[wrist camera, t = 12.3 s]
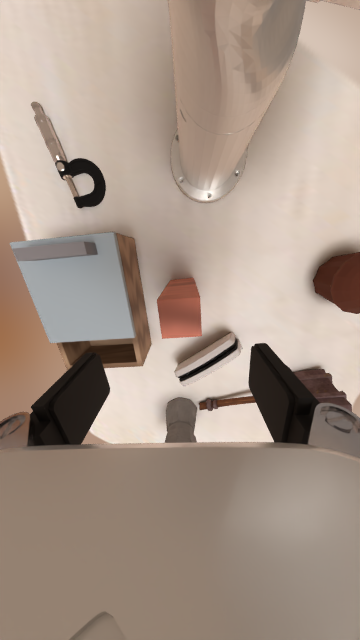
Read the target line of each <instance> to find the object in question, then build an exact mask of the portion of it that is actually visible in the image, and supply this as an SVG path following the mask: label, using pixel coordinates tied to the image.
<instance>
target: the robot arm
mask: <svg viewBox="0 0 360 640" xmlns="http://www.w3.org/2000/svg"><path fill="white" fill-rule="evenodd" d="M306 1H311V2H315V3H317V2H319V1H321V0H168V5H169V15H170V26H171V37H172V50H173V65H174V81H175V95H176V110H177V125H178V128H177V130H176V132H175V135H174V138H173V141H172V147H171V167H172V171H173V176H174V178H175V181H176V183H177V185H178V186H179V188H180V190H181V191H182V192H183V193H184V194H185V195H186V196H187V197H189V198H190V199H192V200H194V201H197V202H202V203H210V202H214V201H217V200H219V199H221V198H223V197H224V196H226V195H227V194H228V193H229V192H230V191H231V190H232V189H233V188H234V187H235V185H236V184H237V182H238V181H239V179H240V177H241V175H242V172H243V170H244V167H245V163H246V158H247V145H248V144H249V142H250V140H251V138H252V136H253V134H254V133H255V131H256V129H257V127H258V125H259V124H260V122H261V120H262V118H263V116H264V114H265V113H266V111H267V109H268V107H269V105H270V103H271V101H272V99H273V98H274V96H275V94H276V92H277V90H278V88H279V87H280V85H281V83H282V81H283V79H284V76H285V74H286V72H287V70H288V68H289V65H290V62H291V60H292V57H293V54H294V51H295V48H296V45H297V41H298V37H299V33H300V29H301V24H302V19H303V14H304V9H305V3H306ZM322 1H326V2H330V3H334V4H338V5H342V6H346V7H350V8H354V9H358V10H360V0H322ZM178 140H179V142H177V141H178ZM235 174H237V176H235ZM180 181H183V183H180ZM208 196H210V198H209V199H208V198H207V197H208ZM249 388H250V390H251V392H252V395H253V397H254V399H255V401H256V403H257V405H258V408H259V410H260V412H261V414H262V416H263V418H264V420H265V423H266V425H267V427H268V429H269V431H270V433H271V436H272V438H273V440H274V442H202V443H128V444H82V445H81V443H82V442H83V440H84V438H85V436H86V434H87V432H88V431H89V429H90V427H91V425H92V424H93V422H94V420H95V418H96V416H97V415H98V413H99V411H100V409H101V407H102V406H103V404H104V402H105V400H106V398H107V397H108V395H109V392H110V387H109V383H108V380H107V377H106V374H105V370H104V367H103V364H102V361H101V357H100V355H98V354H97V353H95V352H94V353H85V354H84V355H83V356H82V357H81V358H80V359H79V360H78V361H77V362H76V363H75V364H74V365H73V366H72V367H71V368H70V369H69V370H68V371H67V372H66V373H65V374H64V375H63V376H62V377H61V378H60V379H59V380H57V382H55V384H53V385H52V386H51V387H50V388H49V389H48V390H47V391H46V392H45V393H44V394H43V395H42V396H41V397H40V398H39V399H38V400H37V401H36V402H35V403H34V404H33V405H32V406H31V408H32V410H33V412H32V413H31V414H29V413H28V412H19V413H16V414H13V415H11V416H9V417H7V418H5V419H3V420H2V421H0V640H360V418H359V417H358V416H357V415H356V414H354V413H353V412H351V411H349V410H348V409H346V408H344V407H341V406H339V405H336V404H332V403H320V402H319V401H318V400H317V399H316V398H315V397H314V395H313V394H312V393H311V392H310V391H309V390H308V389H307V388H306V386H305V385H304V384H303V383H302V382H301V381H300V380H299V379H298V377H297V376H296V375H295V374H294V373H293V372H292V371H291V370H290V368H289V367H287V366H286V365H285V364H284V363H283V362H282V361H281V360H280V358H279V357H278V356H277V355H276V354H275V353H274V352H273V350H272V349H271V348H270V347H269V346H268V345H267V344H266V343H259V344H255V345H254V346H252V348H251V358H250V371H249Z"/></svg>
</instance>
